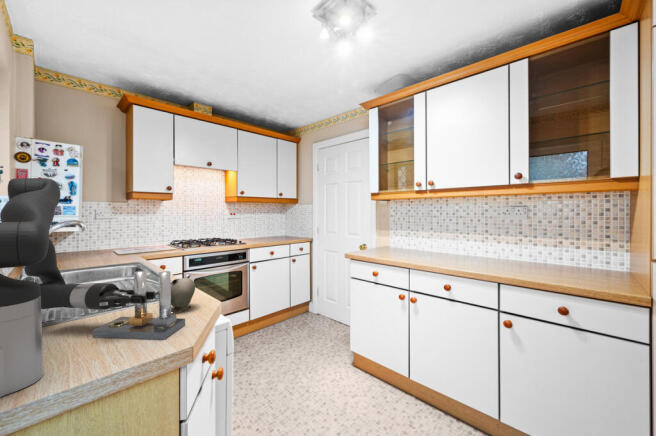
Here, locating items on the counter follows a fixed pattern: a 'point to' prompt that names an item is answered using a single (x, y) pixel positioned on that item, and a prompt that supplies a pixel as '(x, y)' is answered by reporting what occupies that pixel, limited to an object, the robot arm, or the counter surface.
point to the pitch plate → (151, 330)
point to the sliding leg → (140, 309)
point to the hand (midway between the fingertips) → (149, 297)
